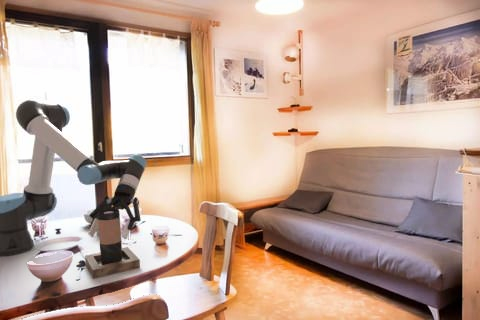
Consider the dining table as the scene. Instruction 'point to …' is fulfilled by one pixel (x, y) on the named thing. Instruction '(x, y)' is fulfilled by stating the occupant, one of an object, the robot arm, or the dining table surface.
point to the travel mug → (110, 236)
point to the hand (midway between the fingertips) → (107, 236)
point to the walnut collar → (111, 264)
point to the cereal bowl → (86, 216)
